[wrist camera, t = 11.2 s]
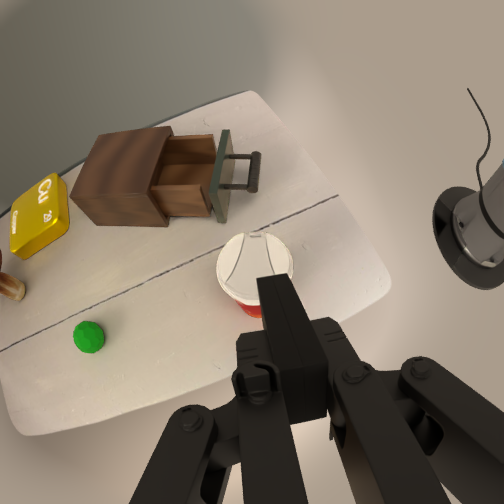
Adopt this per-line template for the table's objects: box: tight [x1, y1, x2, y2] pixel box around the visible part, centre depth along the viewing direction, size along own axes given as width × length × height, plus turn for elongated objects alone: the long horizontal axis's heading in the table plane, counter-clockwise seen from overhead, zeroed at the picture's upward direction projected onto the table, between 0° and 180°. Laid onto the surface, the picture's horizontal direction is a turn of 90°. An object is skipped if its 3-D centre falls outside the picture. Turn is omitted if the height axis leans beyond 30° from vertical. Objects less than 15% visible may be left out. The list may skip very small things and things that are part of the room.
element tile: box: [10, 173, 69, 260], centre depth 48 cm, size 15×15×5 cm
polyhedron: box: [73, 321, 104, 353], centre depth 37 cm, size 5×5×5 cm
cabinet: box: [69, 126, 174, 227], centre depth 45 cm, size 15×14×10 cm
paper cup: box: [216, 232, 293, 318], centre depth 34 cm, size 8×8×14 cm
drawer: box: [150, 130, 261, 223], centre depth 44 cm, size 19×13×8 cm
